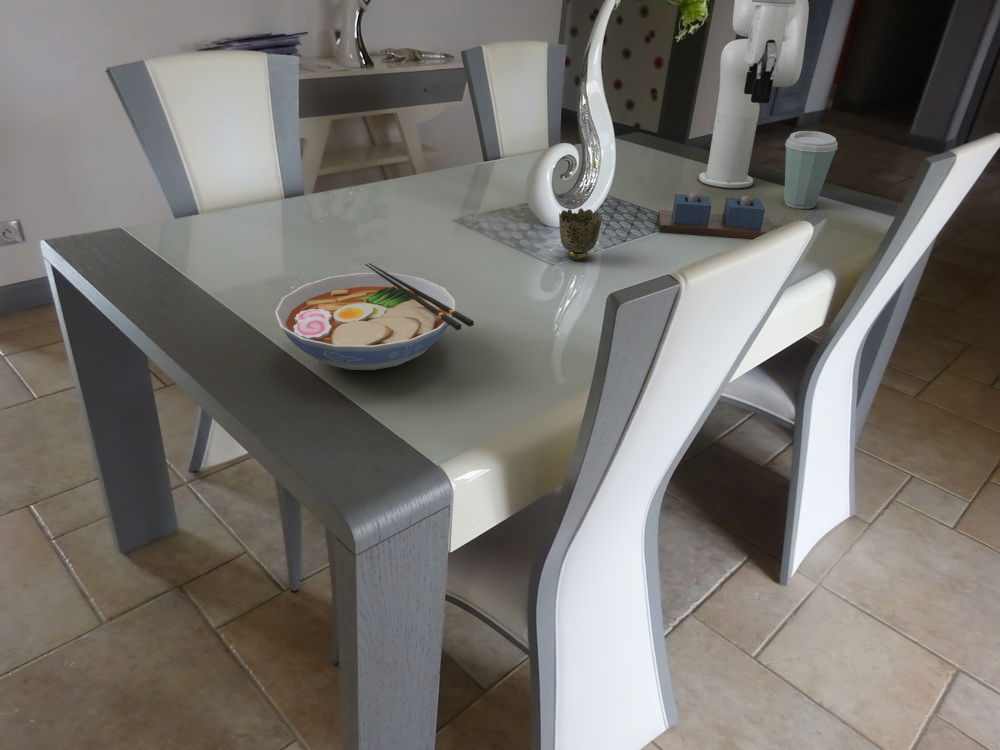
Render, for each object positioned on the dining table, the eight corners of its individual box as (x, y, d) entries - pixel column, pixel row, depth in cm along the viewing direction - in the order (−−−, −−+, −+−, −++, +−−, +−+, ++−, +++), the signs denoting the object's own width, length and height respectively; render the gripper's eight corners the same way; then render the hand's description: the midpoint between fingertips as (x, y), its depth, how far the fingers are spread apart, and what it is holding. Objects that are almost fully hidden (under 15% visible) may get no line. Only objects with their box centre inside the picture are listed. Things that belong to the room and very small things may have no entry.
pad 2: (722, 216, 151) (726, 197, 149) (756, 219, 150) (760, 199, 148) (726, 227, 145) (729, 206, 143) (761, 229, 144) (765, 209, 142)
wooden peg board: (658, 216, 155) (662, 183, 151) (767, 224, 152) (774, 190, 148) (659, 232, 146) (664, 197, 142) (775, 240, 143) (783, 205, 140)
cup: (561, 266, 129) (564, 221, 125) (552, 251, 135) (554, 208, 131) (603, 265, 130) (607, 220, 126) (592, 250, 136) (595, 207, 132)
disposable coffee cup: (828, 213, 159) (846, 142, 152) (776, 210, 161) (791, 139, 153) (818, 200, 168) (834, 131, 161) (769, 196, 170) (783, 128, 162)
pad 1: (672, 213, 152) (675, 193, 150) (705, 215, 151) (708, 196, 149) (673, 223, 146) (676, 203, 144) (708, 225, 145) (711, 205, 143)
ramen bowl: (253, 341, 101) (244, 285, 97) (401, 304, 113) (399, 253, 109) (329, 426, 84) (322, 362, 80) (495, 372, 96) (496, 314, 92)
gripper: (746, -7, 139) (730, 90, 148) (759, -2, 124) (740, 105, 133) (787, -5, 138) (769, 92, 147) (806, -1, 124) (784, 107, 132)
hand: (755, 98), depth 140 cm, fingers open, 9 cm apart
